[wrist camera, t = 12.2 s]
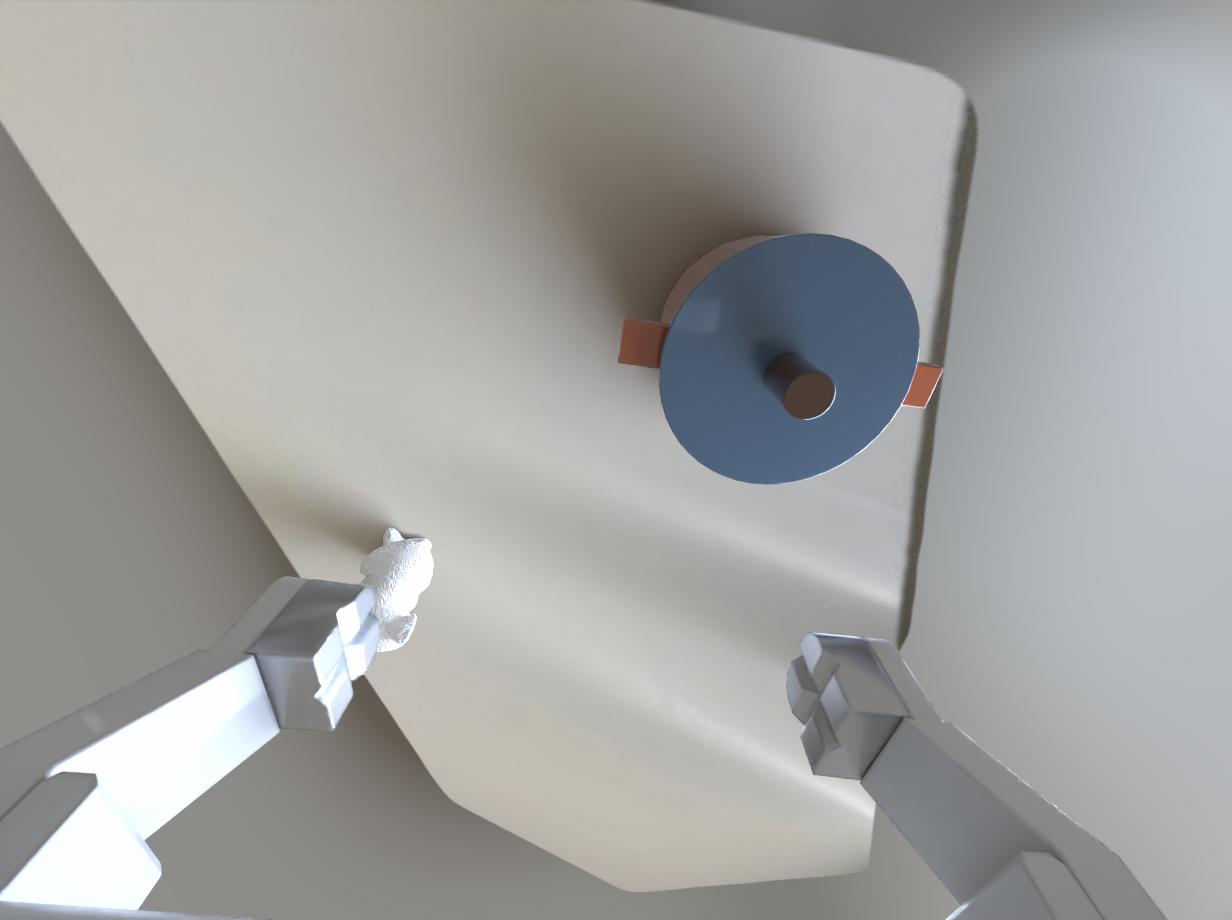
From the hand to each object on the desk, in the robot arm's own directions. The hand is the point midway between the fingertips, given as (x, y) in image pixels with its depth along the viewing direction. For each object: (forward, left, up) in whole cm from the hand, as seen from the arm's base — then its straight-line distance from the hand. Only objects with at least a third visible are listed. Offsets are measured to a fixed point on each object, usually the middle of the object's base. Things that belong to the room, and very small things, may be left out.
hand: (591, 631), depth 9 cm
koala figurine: (+22, -16, -27) cm, 38 cm away
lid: (-1, +9, -19) cm, 21 cm away
